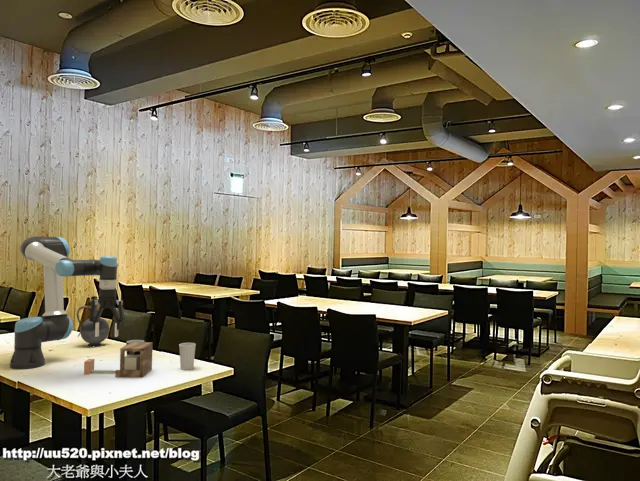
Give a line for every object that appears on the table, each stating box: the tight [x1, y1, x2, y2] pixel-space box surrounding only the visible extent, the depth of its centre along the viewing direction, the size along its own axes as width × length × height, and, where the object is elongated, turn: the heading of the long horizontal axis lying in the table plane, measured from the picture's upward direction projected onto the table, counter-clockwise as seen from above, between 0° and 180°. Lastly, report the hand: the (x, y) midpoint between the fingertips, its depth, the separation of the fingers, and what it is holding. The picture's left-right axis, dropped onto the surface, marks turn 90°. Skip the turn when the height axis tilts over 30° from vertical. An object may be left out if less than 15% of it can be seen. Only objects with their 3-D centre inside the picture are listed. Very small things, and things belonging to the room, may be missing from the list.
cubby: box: [114, 341, 153, 378], centre depth 240 cm, size 12×15×13 cm
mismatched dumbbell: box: [83, 354, 140, 376], centre depth 239 cm, size 24×6×8 cm, turn 93°
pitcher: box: [76, 295, 110, 348], centre depth 301 cm, size 11×19×30 cm, turn 140°
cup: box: [178, 342, 197, 371], centre depth 251 cm, size 8×8×12 cm
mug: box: [125, 339, 145, 356], centre depth 266 cm, size 12×9×10 cm
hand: (106, 336), depth 239 cm, fingers open, 8 cm apart
